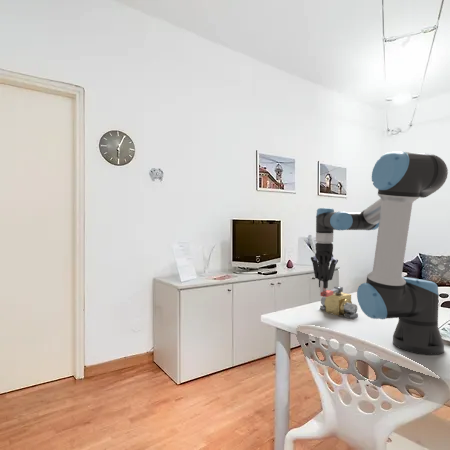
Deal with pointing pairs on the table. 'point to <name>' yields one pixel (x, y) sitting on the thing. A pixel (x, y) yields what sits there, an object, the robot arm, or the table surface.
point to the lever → (331, 291)
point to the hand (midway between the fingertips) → (323, 295)
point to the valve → (339, 305)
